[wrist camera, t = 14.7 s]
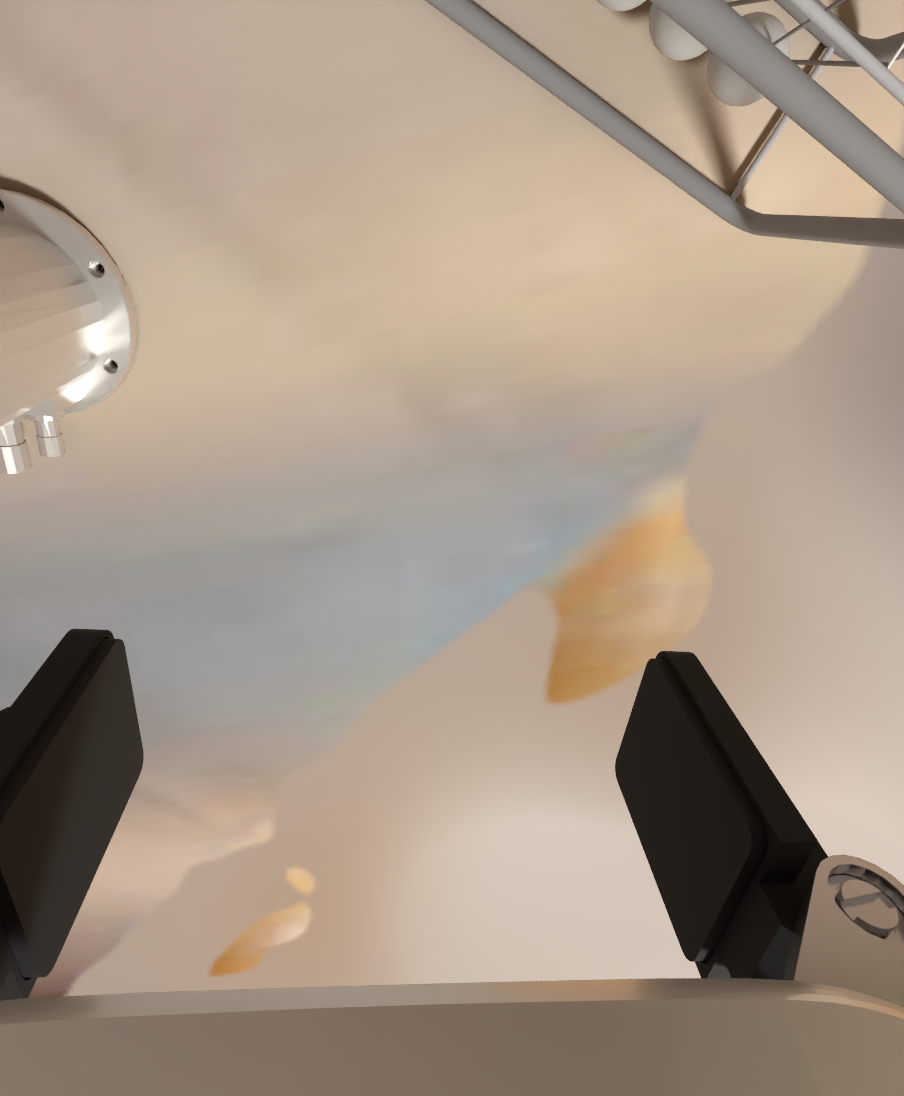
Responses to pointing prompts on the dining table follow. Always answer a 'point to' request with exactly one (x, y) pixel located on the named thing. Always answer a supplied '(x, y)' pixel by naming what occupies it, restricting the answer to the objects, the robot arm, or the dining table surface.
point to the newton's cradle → (741, 99)
